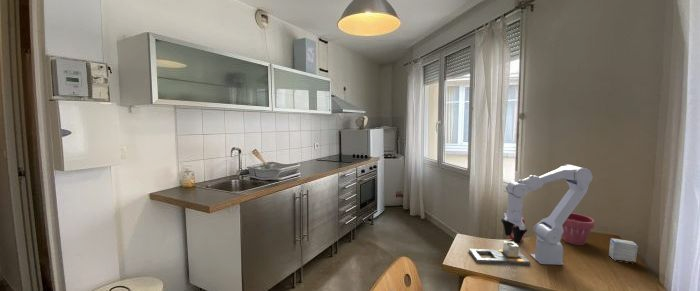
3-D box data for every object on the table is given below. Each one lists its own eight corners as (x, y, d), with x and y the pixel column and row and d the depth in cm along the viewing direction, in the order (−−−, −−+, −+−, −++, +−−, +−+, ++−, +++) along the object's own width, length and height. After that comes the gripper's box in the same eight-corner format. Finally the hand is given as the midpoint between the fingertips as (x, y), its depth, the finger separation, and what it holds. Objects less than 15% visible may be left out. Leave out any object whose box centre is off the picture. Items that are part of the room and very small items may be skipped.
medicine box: (630, 259, 126) (633, 241, 125) (635, 264, 122) (638, 245, 121) (608, 255, 129) (610, 237, 128) (612, 260, 125) (614, 241, 124)
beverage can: (525, 243, 141) (527, 220, 139) (511, 241, 142) (513, 219, 141) (520, 237, 147) (522, 215, 145) (507, 236, 148) (509, 214, 147)
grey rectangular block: (512, 256, 127) (513, 241, 127) (517, 261, 123) (518, 246, 122) (502, 256, 128) (503, 241, 127) (507, 261, 123) (508, 245, 122)
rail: (517, 253, 130) (517, 250, 130) (530, 265, 120) (530, 261, 120) (468, 251, 131) (469, 248, 131) (477, 262, 121) (477, 259, 121)
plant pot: (550, 238, 147) (552, 214, 145) (564, 233, 153) (566, 210, 152) (583, 250, 134) (586, 224, 133) (597, 244, 141) (600, 219, 139)
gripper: (497, 203, 130) (495, 231, 132) (513, 214, 116) (511, 246, 117) (513, 204, 130) (511, 232, 131) (531, 215, 115) (528, 246, 117)
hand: (512, 239), depth 124 cm, fingers open, 7 cm apart
